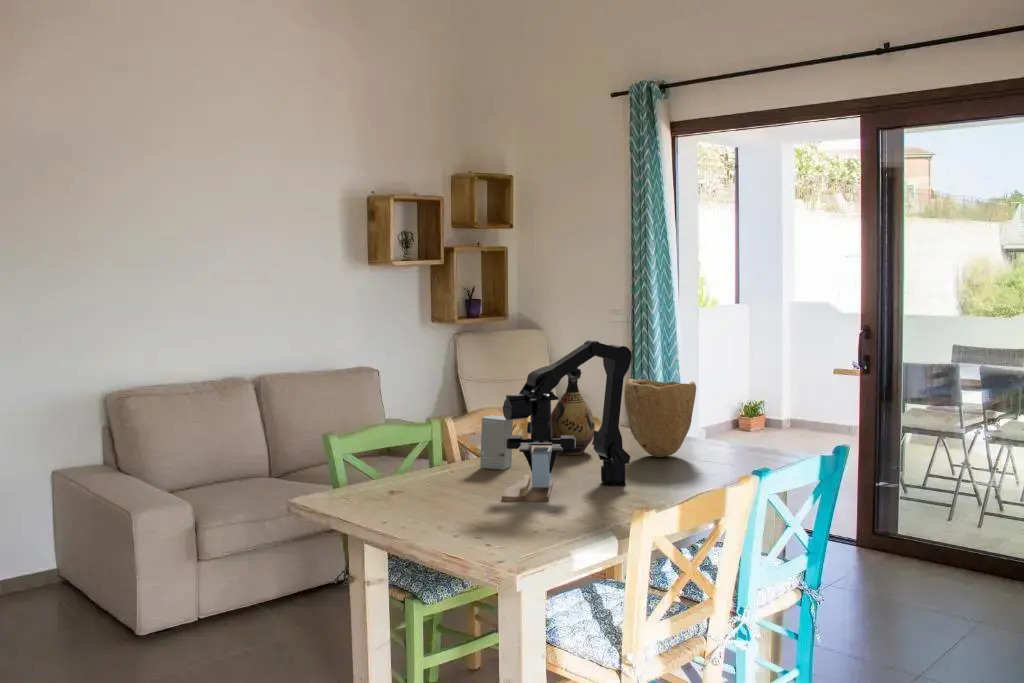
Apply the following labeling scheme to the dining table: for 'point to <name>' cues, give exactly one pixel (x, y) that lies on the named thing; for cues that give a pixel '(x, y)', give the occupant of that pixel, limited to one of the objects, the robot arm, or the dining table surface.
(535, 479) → the blue block
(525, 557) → the dining table surface
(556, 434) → the ceramic jug
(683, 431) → the brown stone pot
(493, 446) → the skincare box
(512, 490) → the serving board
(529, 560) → the dining table surface
